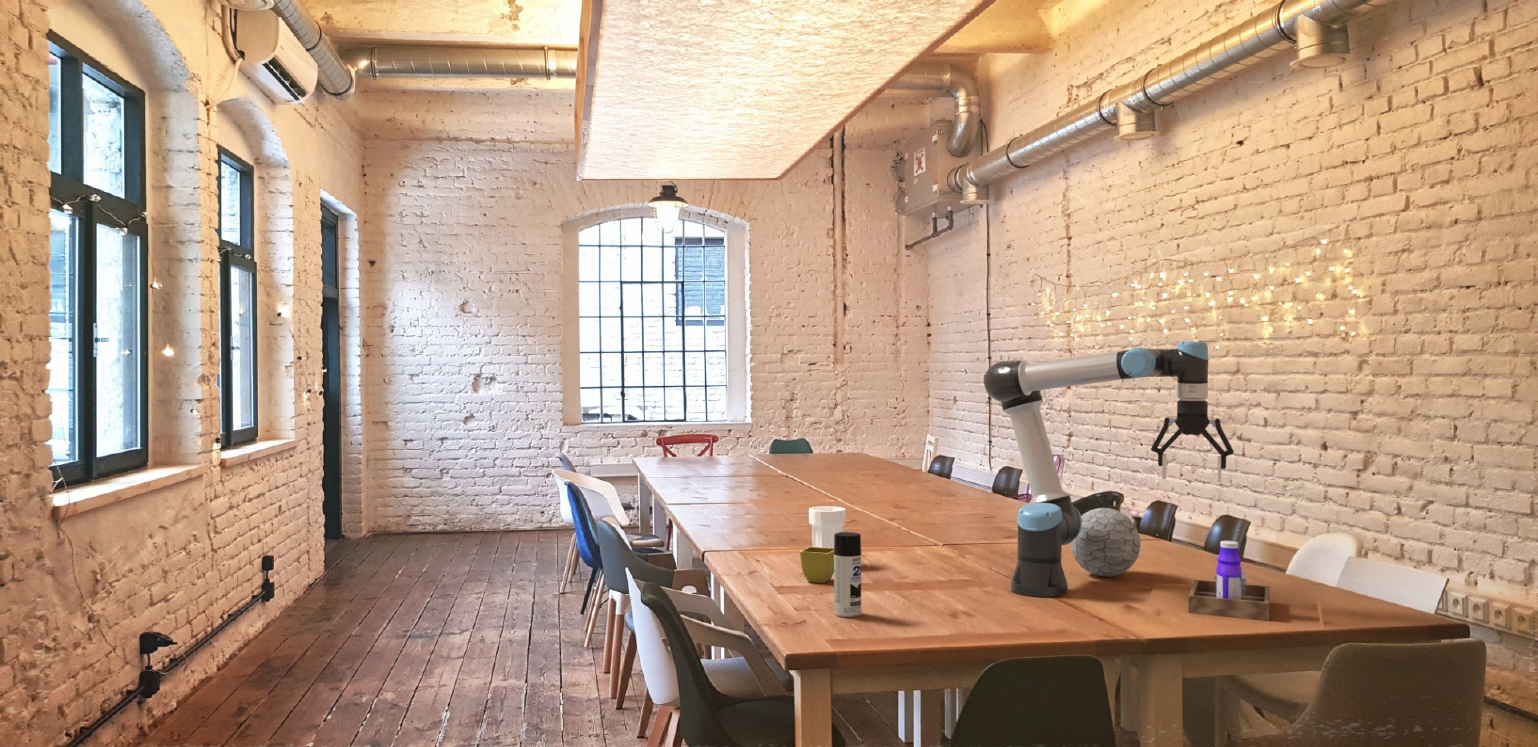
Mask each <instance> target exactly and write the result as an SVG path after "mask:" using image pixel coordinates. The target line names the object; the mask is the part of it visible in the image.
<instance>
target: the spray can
mask: <svg viewBox="0 0 1538 747" xmlns="http://www.w3.org/2000/svg"><path fill="white" fill-rule="evenodd" d="M861 536H862V535H861V534H860V533H859V532H850V531H842V532H839V533H836V534H835V535H834V573H833V590H834V591H833V594H834V595H833V598H834V600H833V602H834V603H833V604H834V605H833V607H834V608H833V612H834V615H835V616H836V617H837V616H838V617H841V618H856V617H859V616H861V614H862V544H861V543H862V539H861V538H862V537H861Z"/></svg>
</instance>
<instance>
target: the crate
mask: <svg viewBox="0 0 1538 747" xmlns="http://www.w3.org/2000/svg"><path fill="white" fill-rule="evenodd" d="M1215 581H1216V580H1215ZM1215 581H1214V580H1213V581H1212V580H1203V579H1194V581H1193V584H1192V586H1191V589H1190V592H1189V594H1188V614H1194V615H1195V614H1196V615H1205V616H1215V617H1216V616H1217V617H1225V618H1236V619H1245V620H1256V621H1266V622H1269V621H1270V598H1271V596H1270V590H1271V589H1270V588H1271V587H1270V586H1269V585H1261V584H1260V585H1259V584H1250V583H1249V584H1248V583H1246V596H1241V600H1237V599H1226V598H1216V593H1215Z"/></svg>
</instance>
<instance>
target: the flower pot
mask: <svg viewBox="0 0 1538 747" xmlns="http://www.w3.org/2000/svg"><path fill="white" fill-rule="evenodd" d="M799 556H800V565H801V569H802V570H801V571H802V573H803V575H804V577H805V578H806V580H807V581H808V583H809V582H810V583H822V584H824V583H827V582H829V581H830V580H831V578H832V577H833V576H834V548H821V547H813V546H808V547H807V548H806V547H805V548H804V549H802V550H800V551H799Z"/></svg>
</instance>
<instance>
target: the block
mask: <svg viewBox="0 0 1538 747" xmlns="http://www.w3.org/2000/svg"><path fill="white" fill-rule="evenodd" d="M1214 579H1215V593H1216V592H1217V572H1216V571H1215V574H1214ZM1247 580H1248V572H1242V576H1241V596H1246V584H1247Z"/></svg>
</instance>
